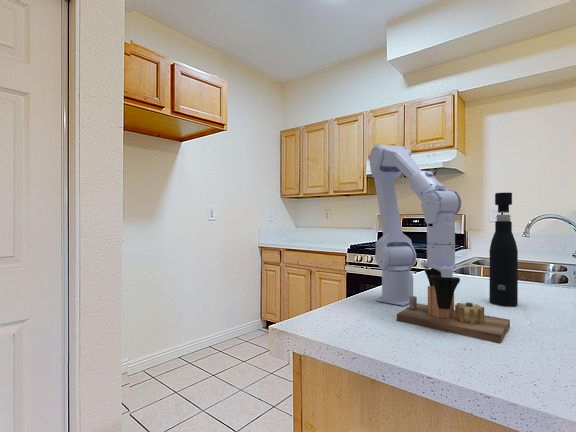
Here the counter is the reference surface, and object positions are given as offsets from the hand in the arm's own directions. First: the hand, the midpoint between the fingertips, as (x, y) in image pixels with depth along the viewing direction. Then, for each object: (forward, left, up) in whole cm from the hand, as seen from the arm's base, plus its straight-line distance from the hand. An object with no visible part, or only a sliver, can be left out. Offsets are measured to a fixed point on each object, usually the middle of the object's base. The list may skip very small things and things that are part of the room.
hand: (440, 303), depth 74 cm
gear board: (0, +2, -4) cm, 5 cm away
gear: (0, 0, -2) cm, 2 cm away
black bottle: (-27, +8, -4) cm, 29 cm away
